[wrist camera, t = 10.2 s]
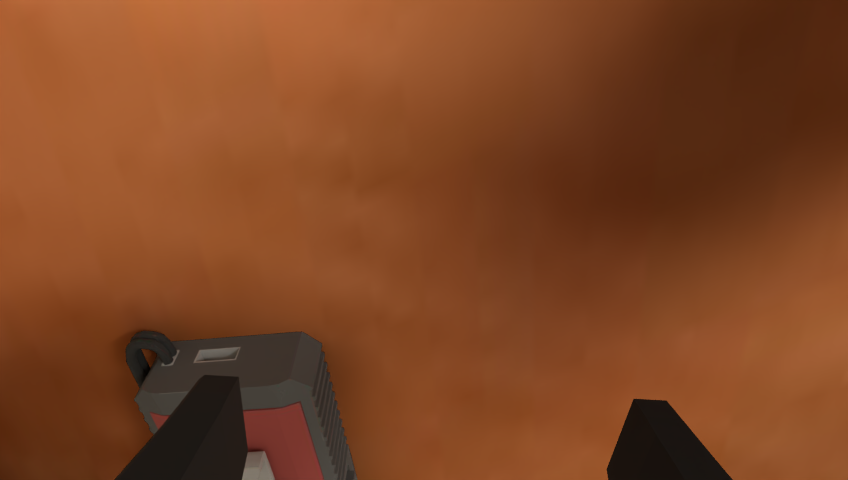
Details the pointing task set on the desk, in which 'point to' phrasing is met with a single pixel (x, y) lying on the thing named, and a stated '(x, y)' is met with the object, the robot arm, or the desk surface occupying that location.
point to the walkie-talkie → (254, 398)
